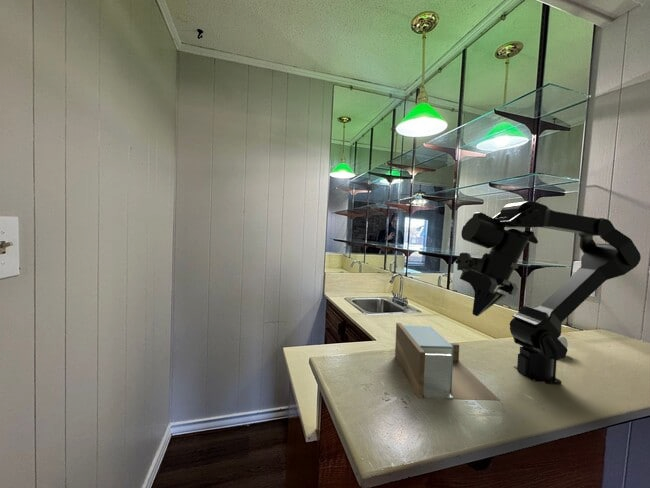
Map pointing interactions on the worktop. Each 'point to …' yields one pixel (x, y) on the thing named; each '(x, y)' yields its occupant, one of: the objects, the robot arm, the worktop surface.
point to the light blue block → (431, 341)
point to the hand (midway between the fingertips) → (475, 315)
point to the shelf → (414, 365)
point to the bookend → (437, 375)
